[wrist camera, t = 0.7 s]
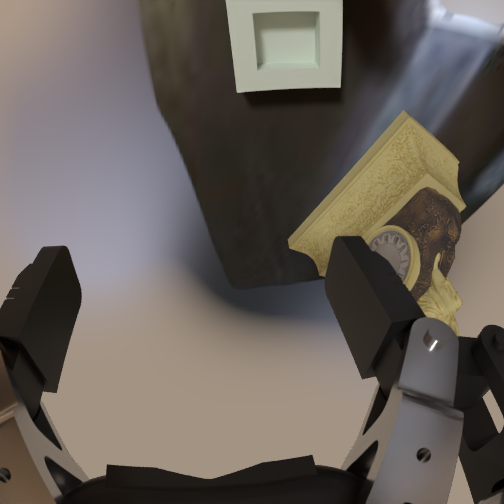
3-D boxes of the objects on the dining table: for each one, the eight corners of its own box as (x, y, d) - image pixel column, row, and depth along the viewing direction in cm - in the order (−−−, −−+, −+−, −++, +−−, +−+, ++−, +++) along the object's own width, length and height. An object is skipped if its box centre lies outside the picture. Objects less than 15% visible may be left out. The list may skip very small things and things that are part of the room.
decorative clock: (402, 109, 36) (533, 313, 17) (453, 154, 41) (554, 328, 22) (287, 238, 54) (313, 423, 35) (343, 259, 60) (379, 418, 40)
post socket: (225, -8, 25) (225, -6, 22) (332, -11, 24) (342, -8, 22) (236, 81, 33) (237, 92, 31) (332, 76, 33) (340, 87, 31)
